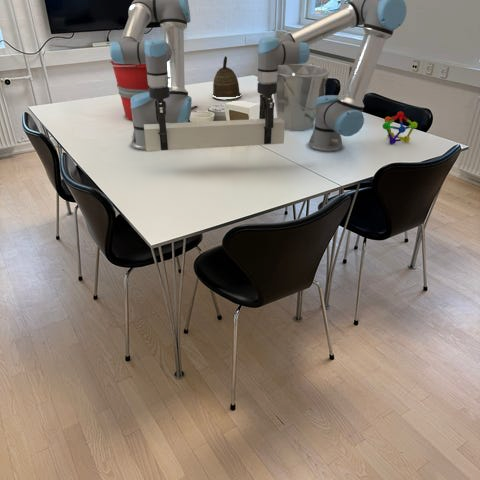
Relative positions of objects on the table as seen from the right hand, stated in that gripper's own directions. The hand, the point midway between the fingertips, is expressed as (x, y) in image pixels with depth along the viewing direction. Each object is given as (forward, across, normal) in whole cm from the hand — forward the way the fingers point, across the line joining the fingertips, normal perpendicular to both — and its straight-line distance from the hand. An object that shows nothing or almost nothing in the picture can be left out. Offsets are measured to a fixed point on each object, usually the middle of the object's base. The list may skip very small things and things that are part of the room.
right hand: (265, 140), depth 181 cm
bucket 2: (+11, +50, -29) cm, 59 cm away
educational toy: (+11, +15, -68) cm, 71 cm away
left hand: (0, 0, +41) cm, 41 cm away
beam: (0, 0, +21) cm, 21 cm away
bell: (+11, +113, -3) cm, 114 cm away
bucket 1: (+11, +82, +47) cm, 95 cm away
